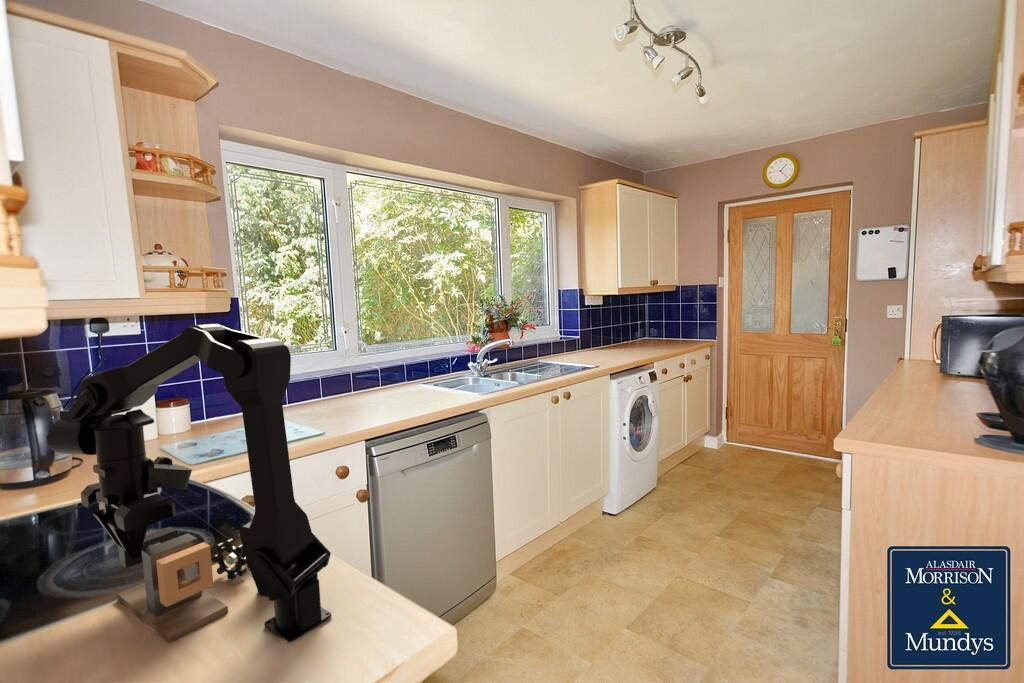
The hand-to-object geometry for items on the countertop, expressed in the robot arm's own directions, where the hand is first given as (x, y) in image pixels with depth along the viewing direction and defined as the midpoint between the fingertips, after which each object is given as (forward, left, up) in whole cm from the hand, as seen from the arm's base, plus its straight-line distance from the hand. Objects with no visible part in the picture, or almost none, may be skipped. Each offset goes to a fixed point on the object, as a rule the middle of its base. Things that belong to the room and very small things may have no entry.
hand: (131, 556), depth 75 cm
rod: (-7, -2, -1) cm, 7 cm away
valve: (-4, -16, -7) cm, 18 cm away
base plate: (-6, -2, -7) cm, 10 cm away
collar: (-12, -2, -3) cm, 13 cm away
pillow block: (-8, -2, -7) cm, 11 cm away
